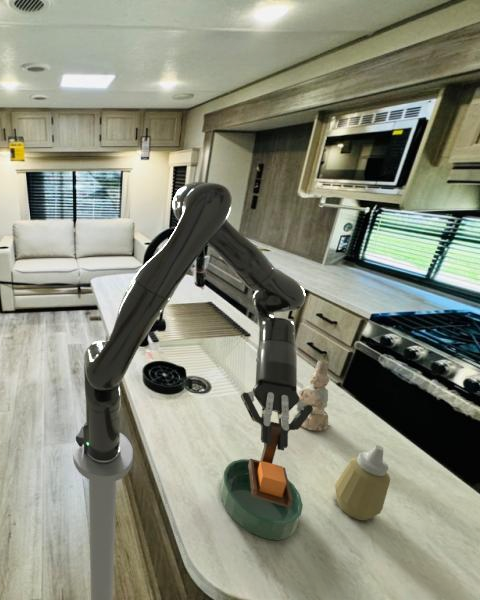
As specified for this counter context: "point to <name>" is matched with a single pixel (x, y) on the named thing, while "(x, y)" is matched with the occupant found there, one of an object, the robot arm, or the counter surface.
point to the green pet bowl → (257, 505)
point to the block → (271, 479)
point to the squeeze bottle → (363, 485)
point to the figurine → (317, 398)
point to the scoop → (268, 457)
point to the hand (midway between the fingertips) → (274, 447)
